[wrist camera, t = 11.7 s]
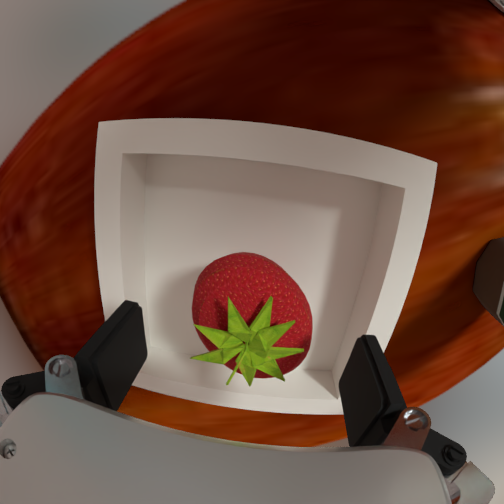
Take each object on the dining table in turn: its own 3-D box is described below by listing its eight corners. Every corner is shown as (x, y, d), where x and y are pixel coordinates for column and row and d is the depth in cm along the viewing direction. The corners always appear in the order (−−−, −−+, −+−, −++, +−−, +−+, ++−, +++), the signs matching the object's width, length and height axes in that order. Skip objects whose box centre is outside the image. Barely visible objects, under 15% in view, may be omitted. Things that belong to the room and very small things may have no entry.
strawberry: (248, 333, 21) (236, 441, 11) (193, 253, 19) (131, 337, 9) (318, 300, 19) (349, 405, 10) (267, 210, 18) (268, 269, 8)
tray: (132, 127, 17) (98, 122, 13) (404, 160, 17) (437, 162, 12) (137, 351, 24) (118, 381, 19) (343, 379, 23) (352, 413, 19)
